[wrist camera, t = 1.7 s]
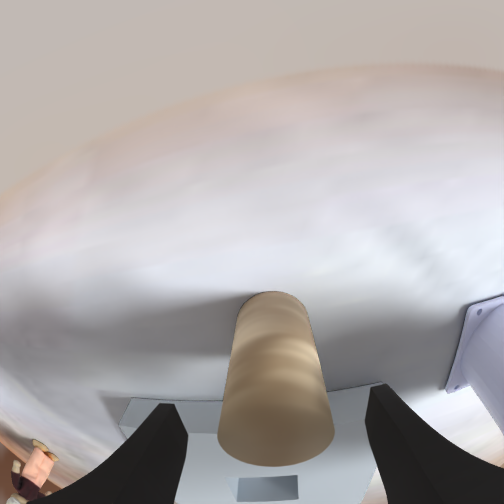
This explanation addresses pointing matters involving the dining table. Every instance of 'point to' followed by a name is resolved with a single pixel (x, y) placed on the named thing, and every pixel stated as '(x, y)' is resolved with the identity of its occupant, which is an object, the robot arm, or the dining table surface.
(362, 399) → the socket block
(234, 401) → the peg
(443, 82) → the dining table surface
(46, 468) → the grandmother figurine
